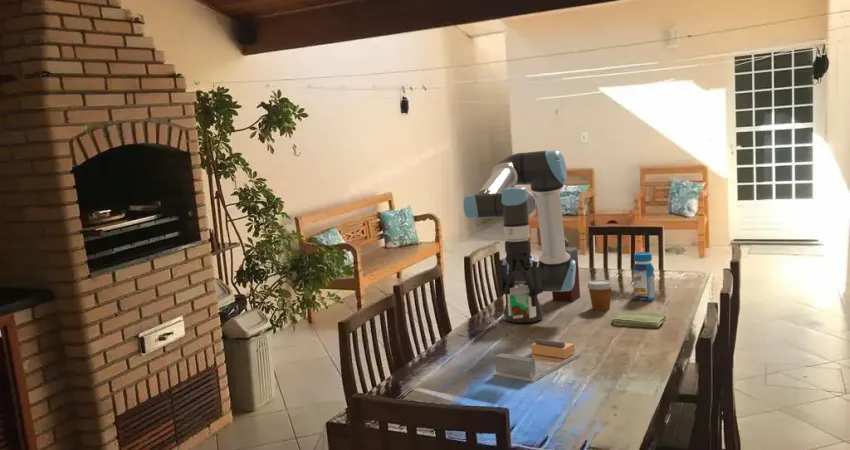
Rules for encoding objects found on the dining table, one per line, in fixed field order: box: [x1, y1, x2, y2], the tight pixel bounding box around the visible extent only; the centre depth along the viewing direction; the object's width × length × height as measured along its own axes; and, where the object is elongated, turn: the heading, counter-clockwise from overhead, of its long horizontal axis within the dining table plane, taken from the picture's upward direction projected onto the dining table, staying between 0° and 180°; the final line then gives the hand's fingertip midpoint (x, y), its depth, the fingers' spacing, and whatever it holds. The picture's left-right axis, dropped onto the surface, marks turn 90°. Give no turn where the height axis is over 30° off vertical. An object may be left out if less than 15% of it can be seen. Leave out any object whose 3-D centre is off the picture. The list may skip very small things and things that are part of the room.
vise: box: [492, 351, 582, 383], centre depth 214 cm, size 14×28×6 cm, turn 139°
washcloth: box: [610, 311, 666, 329], centre depth 253 cm, size 13×18×3 cm
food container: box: [510, 281, 530, 321], centre depth 207 cm, size 12×6×10 cm, turn 165°
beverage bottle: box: [632, 251, 656, 302], centre depth 285 cm, size 8×8×20 cm
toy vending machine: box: [551, 237, 581, 303], centre depth 292 cm, size 9×11×28 cm
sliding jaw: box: [530, 338, 575, 358], centre depth 221 cm, size 12×6×5 cm, turn 49°
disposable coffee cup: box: [587, 279, 613, 312], centre depth 273 cm, size 10×10×12 cm
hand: (522, 315), depth 208 cm, fingers closed on food container, 7 cm apart
